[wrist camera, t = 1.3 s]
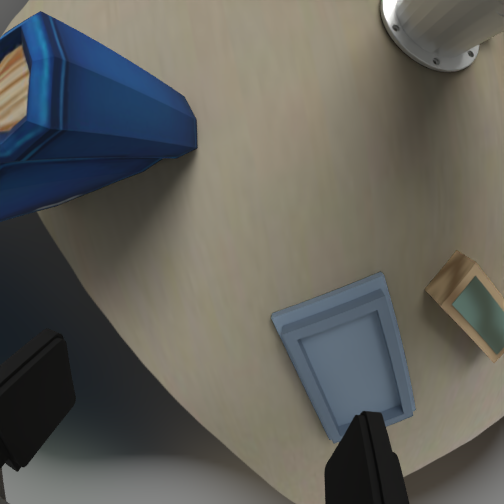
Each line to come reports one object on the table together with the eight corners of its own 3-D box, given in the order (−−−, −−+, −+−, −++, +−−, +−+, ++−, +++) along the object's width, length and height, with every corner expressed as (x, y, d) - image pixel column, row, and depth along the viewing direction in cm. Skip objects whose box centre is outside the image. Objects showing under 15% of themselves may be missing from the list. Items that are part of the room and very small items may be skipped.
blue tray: (380, 271, 33) (389, 281, 30) (413, 404, 38) (419, 419, 35) (271, 313, 36) (270, 327, 33) (328, 434, 40) (330, 449, 37)
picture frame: (455, 249, 32) (476, 262, 27) (505, 311, 33) (524, 328, 28) (423, 288, 33) (440, 306, 28) (478, 344, 34) (494, 364, 29)
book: (197, 88, 30) (29, -18, 6) (213, 150, 32) (35, 136, 8) (46, 155, 34) (-122, 179, 10) (58, 206, 35) (-108, 264, 12)
